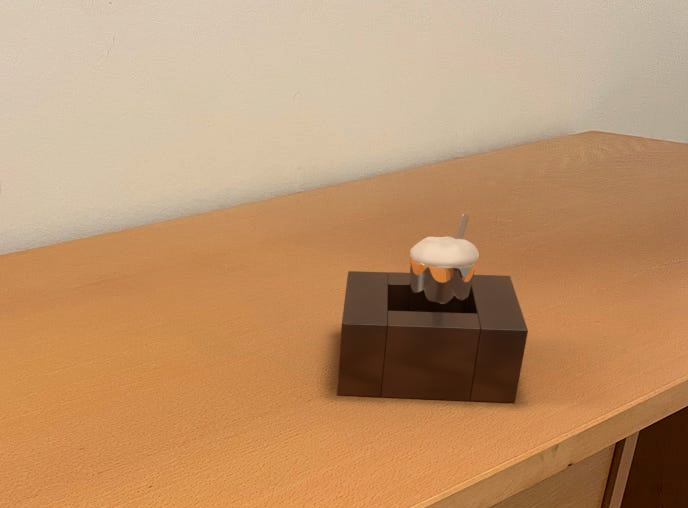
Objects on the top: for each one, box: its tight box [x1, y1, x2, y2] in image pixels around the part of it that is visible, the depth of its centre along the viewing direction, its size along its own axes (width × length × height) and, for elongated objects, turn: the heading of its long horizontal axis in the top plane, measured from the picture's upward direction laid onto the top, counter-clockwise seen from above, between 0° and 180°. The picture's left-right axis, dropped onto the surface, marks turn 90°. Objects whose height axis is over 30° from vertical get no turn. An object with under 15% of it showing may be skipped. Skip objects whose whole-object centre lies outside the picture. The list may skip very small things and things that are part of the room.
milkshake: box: [409, 213, 480, 313], centre depth 68 cm, size 5×5×10 cm
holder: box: [336, 270, 529, 404], centre depth 70 cm, size 12×12×5 cm
